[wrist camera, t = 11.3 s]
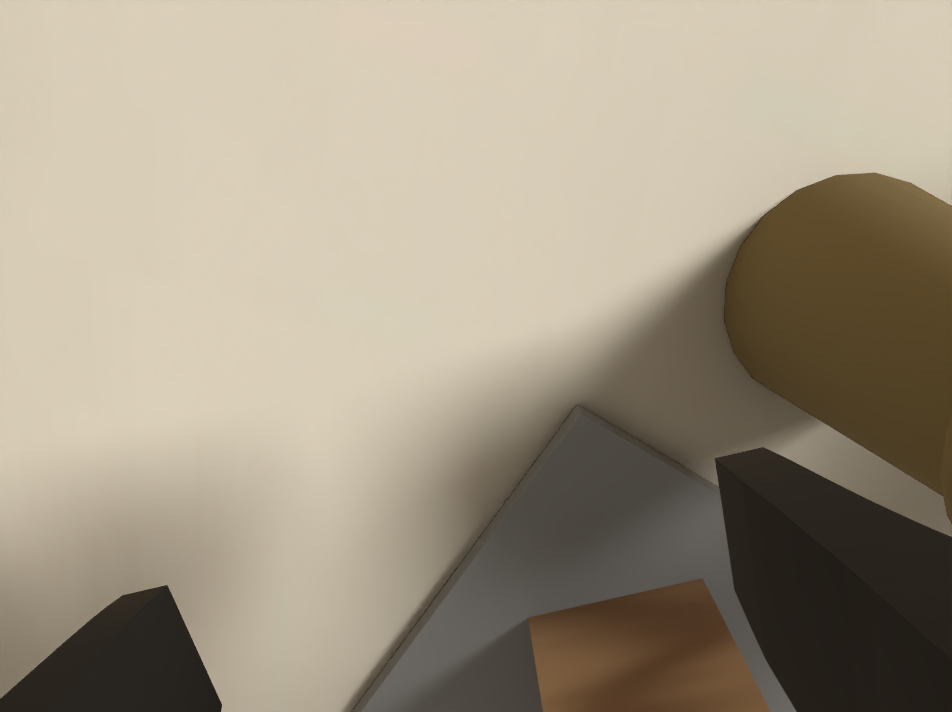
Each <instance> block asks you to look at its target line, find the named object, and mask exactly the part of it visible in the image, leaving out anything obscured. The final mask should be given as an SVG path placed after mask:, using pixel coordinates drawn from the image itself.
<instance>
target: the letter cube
mask: <svg viewBox="0 0 952 712" xmlns="http://www.w3.org/2000/svg"><path fill="white" fill-rule="evenodd" d="M528 621H529V627H530V634H531V640H532V646H533V652H534V658H535V665H536V671H537V677H538V683H539V689H540V696H541V702H542V708H543V712H770V710H769V708H768V706H767V704H766V702H765V700H764V698H763V696H762V694H761V692H760V690H759V688H758V686H757V684H756V682H755V680H754V678H753V676H752V674H751V672H750V670H749V668H748V666H747V665H746V663H745V661H744V659H743V657H742V655H741V653H740V651H739V649H738V647H737V645H736V643H735V641H734V639H733V637H732V635H731V633H730V631H729V629H728V627H727V625H726V623H725V621H724V619H723V617H722V615H721V613H720V611H719V609H718V607H717V605H716V603H715V601H714V599H713V597H712V595H711V594H710V592H709V590H708V588H707V586H706V584H705V582H704V580H703V578H701V579H697V580H692V581H688V582H684V583H679V584H675V585H670V586H666V587H661V588H657V589H652V590H648V591H644V592H639V593H635V594H630V595H626V596H621V597H617V598H612V599H608V600H604V601H599V602H595V603H590V604H586V605H581V606H577V607H572V608H568V609H564V610H559V611H555V612H550V613H546V614H541V615H537V616H532V617H528Z"/></svg>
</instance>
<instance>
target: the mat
mask: <svg viewBox="0 0 952 712" xmlns="http://www.w3.org/2000/svg"><path fill="white" fill-rule="evenodd" d="M701 578H703V580H704V582H705V584H706V586H707V588H708V590H709V592H710V594H711V595H712V597H713V599H714V601H715V603H716V605H717V607H718V609H719V611H720V613H721V615H722V617H723V619H724V621H725V623H726V625H727V627H728V629H729V631H730V633H731V635H732V637H733V639H734V641H735V643H736V645H737V647H738V649H739V651H740V653H741V655H742V657H743V659H744V661H745V663H746V665H747V666H748V668H749V670H750V672H751V674H752V676H753V678H754V680H755V682H756V684H757V686H758V688H759V690H760V692H761V694H762V696H763V698H764V700H765V702H766V704H767V706H768V708H769V710H770V712H796V710H795V708H794V707H793V705H792V703H791V702H790V700H789V698H788V697H787V695H786V693H785V692H784V690H783V688H782V687H781V685H780V683H779V682H778V680H777V678H776V677H775V675H774V673H773V671H772V670H771V668H770V666H769V665H768V663H767V661H766V659H765V657H764V655H763V653H762V651H761V649H760V646H759V644H758V642H757V640H756V638H755V636H754V633H753V631H752V629H751V627H750V625H749V622H748V620H747V618H746V615H745V613H744V611H743V609H742V606H741V604H740V602H739V599H738V597H737V595H736V593H735V590H734V584H733V578H732V571H731V564H730V557H729V550H728V543H727V537H726V530H725V523H724V516H723V509H722V503H721V496H720V489H719V487H717V486H715V485H714V484H712V483H710V482H709V481H707V480H705V479H704V478H702V477H700V476H698V475H697V474H695V473H693V472H692V471H690V470H688V469H686V468H685V467H683V466H681V465H680V464H678V463H676V462H675V461H673V460H671V459H669V458H668V457H666V456H664V455H663V454H661V453H659V452H657V451H656V450H654V449H652V448H651V447H649V446H647V445H646V444H644V443H642V442H640V441H639V440H637V439H635V438H634V437H632V436H630V435H629V434H627V433H625V432H623V431H622V430H620V429H618V428H617V427H615V426H613V425H611V424H610V423H608V422H606V421H605V420H603V419H601V418H600V417H598V416H596V415H594V414H593V413H591V412H589V411H588V410H586V409H584V408H582V407H581V406H579V405H576V407H575V408H574V410H573V411H572V412H571V414H570V415H569V416H568V418H567V419H566V420H565V422H564V423H563V425H562V426H561V427H560V429H559V430H558V431H557V433H556V434H555V435H554V437H553V438H552V440H551V441H550V442H549V444H548V445H547V446H546V448H545V449H544V450H543V452H542V453H541V455H540V456H539V457H538V459H537V460H536V461H535V463H534V464H533V465H532V467H531V468H530V470H529V471H528V472H527V474H526V475H525V476H524V478H523V479H522V480H521V482H520V483H519V484H518V486H517V487H516V489H515V490H514V491H513V493H512V494H511V495H510V497H509V498H508V499H507V501H506V502H505V504H504V505H503V506H502V508H501V509H500V510H499V512H498V513H497V514H496V516H495V517H494V519H493V520H492V521H491V523H490V524H489V525H488V527H487V528H486V529H485V531H484V532H483V534H482V535H481V536H480V538H479V539H478V540H477V542H476V543H475V544H474V546H473V547H472V549H471V550H470V551H469V553H468V554H467V555H466V557H465V558H464V559H463V561H462V562H461V564H460V565H459V566H458V568H457V569H456V570H455V572H454V573H453V574H452V576H451V577H450V579H449V580H448V581H447V583H446V584H445V585H444V587H443V588H442V589H441V591H440V592H439V594H438V595H437V596H436V598H435V599H434V600H433V602H432V603H431V604H430V606H429V607H428V609H427V610H426V611H425V613H424V614H423V615H422V617H421V618H420V619H419V621H418V622H417V624H416V625H415V626H414V628H413V629H412V630H411V632H410V633H409V634H408V636H407V637H406V639H405V640H404V641H403V643H402V644H401V645H400V647H399V648H398V649H397V651H396V652H395V654H394V655H393V656H392V658H391V659H390V660H389V662H388V663H387V664H386V666H385V667H384V669H383V670H382V671H381V673H380V674H379V675H378V677H377V678H376V679H375V681H374V682H373V684H372V685H371V686H370V688H369V689H368V690H367V692H366V693H365V694H364V696H363V697H362V699H361V700H360V701H359V703H358V704H357V705H356V707H355V708H354V709H353V711H352V712H543V708H542V702H541V696H540V689H539V683H538V677H537V671H536V665H535V658H534V652H533V646H532V640H531V634H530V627H529V621H528V617H532V616H537V615H541V614H546V613H550V612H555V611H559V610H564V609H568V608H572V607H577V606H581V605H586V604H590V603H595V602H599V601H604V600H608V599H612V598H617V597H621V596H626V595H630V594H635V593H639V592H644V591H648V590H652V589H657V588H661V587H666V586H670V585H675V584H679V583H684V582H688V581H692V580H697V579H701Z"/></svg>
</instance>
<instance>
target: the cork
mask: <svg viewBox="0 0 952 712" xmlns="http://www.w3.org/2000/svg"><path fill="white" fill-rule="evenodd" d="M724 321H725V325H726V328H727V332H728V335H729V339H730V342H731V346H732V349H733V352H734V354H735V355H736V356H737V358H738V359H739V360H740V362H741V363H742V364H743V366H744V367H745V368H746V370H747V371H748V373H749V374H750V375H751V377H752V378H753V379H755V380H756V381H758V382H760V383H761V384H763V385H764V386H766V387H767V388H769V389H770V390H772V391H774V392H775V393H777V394H778V395H780V396H781V397H783V398H785V399H786V400H788V401H789V402H791V403H793V404H794V405H796V406H798V407H799V408H801V409H802V410H804V411H806V412H807V413H809V414H811V415H812V416H814V417H815V418H817V419H819V420H820V421H822V422H824V423H825V424H827V425H828V426H830V427H832V428H833V429H835V430H837V431H838V432H840V433H841V434H843V435H845V436H846V437H848V438H850V439H851V440H853V441H854V442H856V443H858V444H859V445H861V446H863V447H864V448H866V449H867V450H869V451H871V452H872V453H874V454H876V455H877V456H879V457H880V458H882V459H884V460H885V461H887V462H889V463H890V464H892V465H893V466H895V467H897V468H898V469H900V470H902V471H903V472H905V473H906V474H908V475H910V476H911V477H913V478H915V479H916V480H918V481H919V482H921V483H923V484H924V485H926V486H928V487H929V488H931V489H932V490H934V491H936V492H937V493H939V494H941V495H942V496H944V501H945V506H946V511H947V516H948V517H949V519H950V521H951V523H952V206H951V205H949V204H947V203H946V202H944V201H942V200H940V199H938V198H937V197H935V196H933V195H931V194H929V193H928V192H926V191H924V190H922V189H921V188H919V187H917V186H915V185H913V184H912V183H909V182H906V181H902V180H899V179H895V178H892V177H888V176H885V175H881V174H878V173H865V174H848V175H836V176H833V177H830V178H828V179H825V180H823V181H820V182H817V183H815V184H812V185H809V186H807V187H804V188H802V189H799V190H797V191H796V192H795V193H793V194H792V195H791V196H789V197H788V198H787V199H785V200H784V201H783V202H781V203H780V204H779V205H777V206H776V207H775V208H773V209H772V210H771V211H769V212H768V213H767V214H765V215H764V217H763V218H762V219H761V220H760V222H759V223H758V224H757V226H756V227H755V228H754V230H753V231H752V232H751V234H750V235H749V236H748V238H747V239H746V240H745V241H744V243H743V244H742V245H741V247H740V249H739V251H738V254H737V257H736V259H735V262H734V264H733V267H732V270H731V272H730V275H729V277H728V280H727V283H726V295H725V311H724Z"/></svg>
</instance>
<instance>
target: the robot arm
mask: <svg viewBox="0 0 952 712" xmlns="http://www.w3.org/2000/svg"><path fill="white" fill-rule="evenodd" d="M715 462H716V469H717V475H718V482H719V489H720V496H721V503H722V509H723V516H724V523H725V530H726V537H727V543H728V550H729V557H730V564H731V571H732V578H733V584H734V590H735V593H736V595H737V597H738V599H739V602H740V604H741V606H742V609H743V611H744V613H745V615H746V618H747V620H748V622H749V625H750V627H751V629H752V631H753V633H754V636H755V638H756V640H757V642H758V644H759V646H760V649H761V651H762V653H763V655H764V657H765V659H766V661H767V663H768V665H769V666H770V668H771V670H772V671H773V673H774V675H775V677H776V678H777V680H778V682H779V683H780V685H781V687H782V688H783V690H784V692H785V693H786V695H787V697H788V698H789V700H790V702H791V703H792V705H793V707H794V708H795V710H796V712H952V537H950V536H948V535H945V534H943V533H940V532H938V531H936V530H933V529H931V528H929V527H926V526H924V525H922V524H920V523H917V522H915V521H913V520H911V519H908V518H906V517H904V516H902V515H900V514H898V513H895V512H893V511H891V510H889V509H887V508H885V507H883V506H881V505H878V504H876V503H874V502H872V501H870V500H868V499H866V498H864V497H862V496H860V495H858V494H856V493H854V492H852V491H850V490H848V489H846V488H844V487H842V486H840V485H838V484H836V483H834V482H832V481H830V480H828V479H826V478H824V477H822V476H820V475H818V474H816V473H814V472H812V471H810V470H808V469H806V468H804V467H802V466H800V465H798V464H796V463H795V462H793V461H791V460H789V459H787V458H785V457H783V456H781V455H779V454H776V453H774V452H772V451H770V450H768V449H766V448H758V449H754V450H750V451H745V452H741V453H737V454H732V455H728V456H724V457H719V458H715ZM221 708H222V704H221V702H220V700H219V697H218V695H217V693H216V691H215V689H214V686H213V684H212V682H211V680H210V678H209V675H208V673H207V671H206V669H205V667H204V664H203V662H202V660H201V658H200V656H199V654H198V651H197V649H196V647H195V645H194V643H193V640H192V638H191V636H190V634H189V632H188V629H187V627H186V625H185V623H184V621H183V618H182V616H181V614H180V612H179V610H178V608H177V605H176V603H175V601H174V599H173V597H172V594H171V592H170V590H169V588H168V586H167V585H166V586H161V587H157V588H153V589H148V590H144V591H140V592H135V593H131V594H127V595H123V596H121V597H120V598H118V599H117V600H116V601H114V602H113V603H111V604H110V605H109V606H107V607H106V608H105V609H103V610H102V611H101V612H100V613H98V614H97V615H96V616H95V617H94V618H92V619H91V620H90V621H89V622H87V623H86V624H85V625H84V626H83V627H82V628H80V629H79V630H78V631H77V632H76V633H75V634H73V635H72V636H71V637H70V638H69V639H68V640H67V641H65V642H64V643H63V644H62V645H61V646H60V647H59V648H57V649H56V650H55V651H54V652H53V653H52V654H51V655H50V656H48V657H47V658H46V659H45V660H44V661H43V662H42V663H40V664H39V665H38V666H37V667H36V668H35V669H34V670H33V671H31V672H30V673H29V674H28V675H27V676H26V677H25V678H24V679H22V680H21V681H20V682H19V683H18V684H17V685H16V686H14V687H13V688H12V689H11V690H10V691H9V692H8V693H7V694H5V695H4V696H3V697H2V698H1V699H0V712H221Z"/></svg>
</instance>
